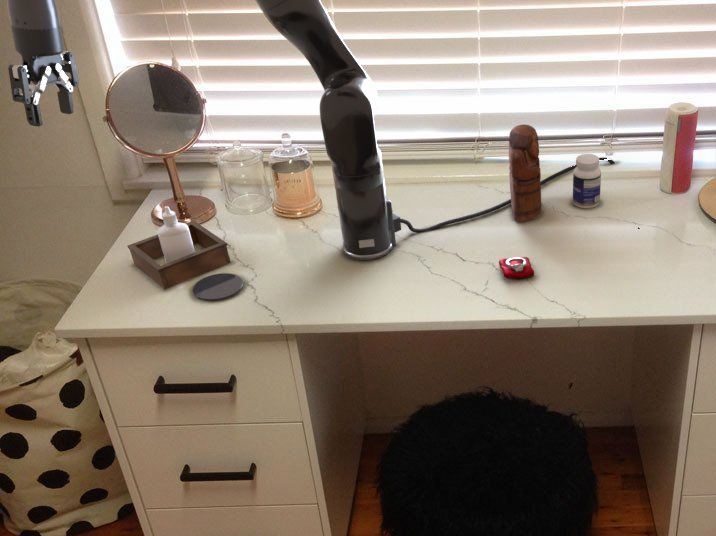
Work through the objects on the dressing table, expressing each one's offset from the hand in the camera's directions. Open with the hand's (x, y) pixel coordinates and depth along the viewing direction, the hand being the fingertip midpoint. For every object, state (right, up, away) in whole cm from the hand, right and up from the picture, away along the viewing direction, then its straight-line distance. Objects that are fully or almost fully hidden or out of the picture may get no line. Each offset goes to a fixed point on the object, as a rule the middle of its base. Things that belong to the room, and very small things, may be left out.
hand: (52, 119), depth 155 cm
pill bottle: (+97, -9, +29) cm, 102 cm away
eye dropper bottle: (+18, -24, +13) cm, 33 cm away
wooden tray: (+18, -24, +13) cm, 33 cm away
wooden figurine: (+84, -11, +28) cm, 89 cm away
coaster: (+27, -29, +6) cm, 41 cm away
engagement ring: (+82, -26, +7) cm, 87 cm away
